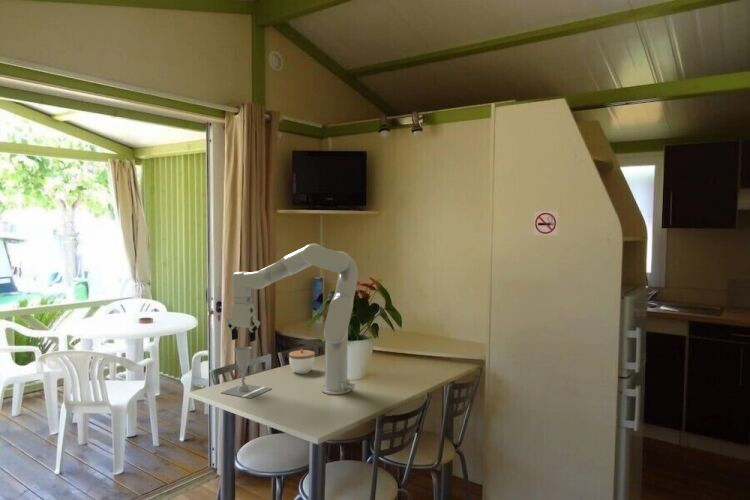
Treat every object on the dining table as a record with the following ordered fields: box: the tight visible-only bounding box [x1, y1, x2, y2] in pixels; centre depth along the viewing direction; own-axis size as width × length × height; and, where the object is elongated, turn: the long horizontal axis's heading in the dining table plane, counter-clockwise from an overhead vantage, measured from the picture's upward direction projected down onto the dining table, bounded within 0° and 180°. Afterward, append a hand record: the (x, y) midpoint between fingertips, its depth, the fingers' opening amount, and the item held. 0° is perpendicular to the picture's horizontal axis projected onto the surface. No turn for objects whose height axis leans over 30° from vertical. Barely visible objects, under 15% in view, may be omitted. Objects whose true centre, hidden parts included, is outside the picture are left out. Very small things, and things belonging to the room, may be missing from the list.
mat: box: [220, 383, 273, 400], centre depth 215 cm, size 16×14×1 cm
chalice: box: [234, 346, 252, 392], centre depth 216 cm, size 7×7×18 cm
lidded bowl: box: [288, 348, 316, 375], centre depth 246 cm, size 13×13×11 cm
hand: (243, 340), depth 216 cm, fingers open, 9 cm apart
